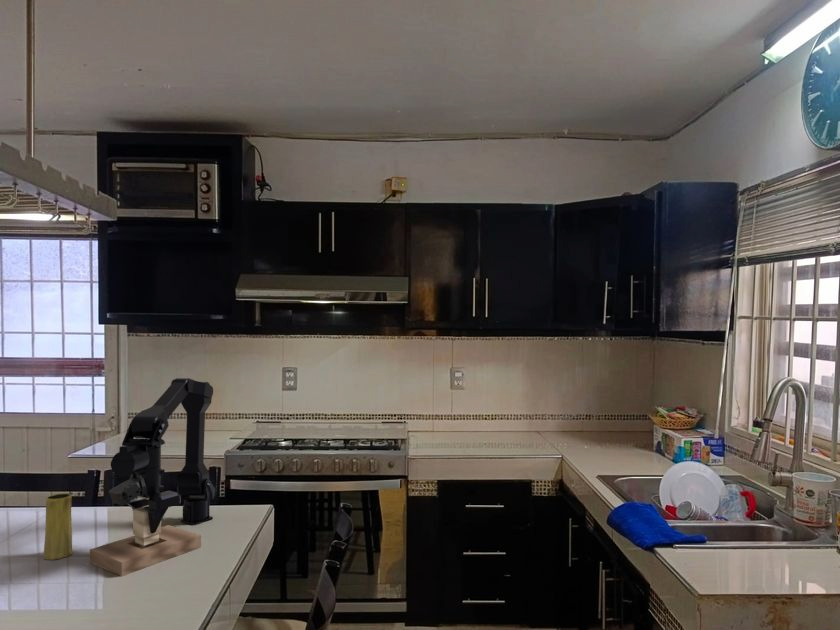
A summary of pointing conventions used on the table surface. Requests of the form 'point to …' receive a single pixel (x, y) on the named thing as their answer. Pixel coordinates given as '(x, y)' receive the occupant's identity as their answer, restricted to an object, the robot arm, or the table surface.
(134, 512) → the peg
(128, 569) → the board
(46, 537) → the vase
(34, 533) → the table surface
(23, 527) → the table surface
